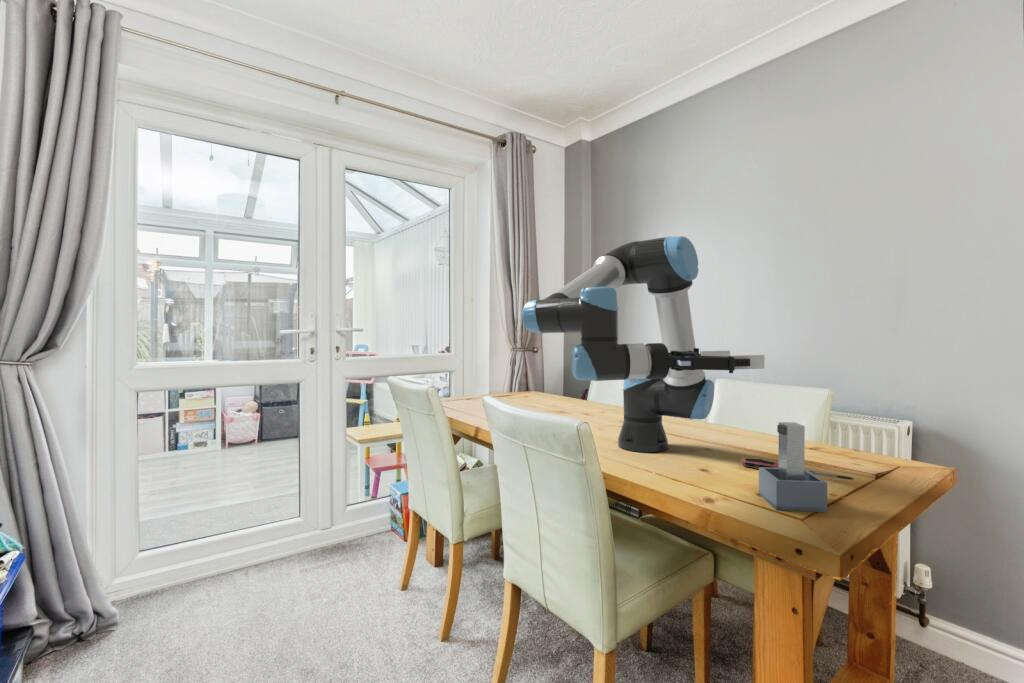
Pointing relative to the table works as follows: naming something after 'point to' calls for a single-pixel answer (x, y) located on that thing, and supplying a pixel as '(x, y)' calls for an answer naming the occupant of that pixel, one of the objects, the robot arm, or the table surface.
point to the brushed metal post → (791, 451)
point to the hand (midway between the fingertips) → (745, 358)
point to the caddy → (793, 491)
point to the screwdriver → (765, 463)
